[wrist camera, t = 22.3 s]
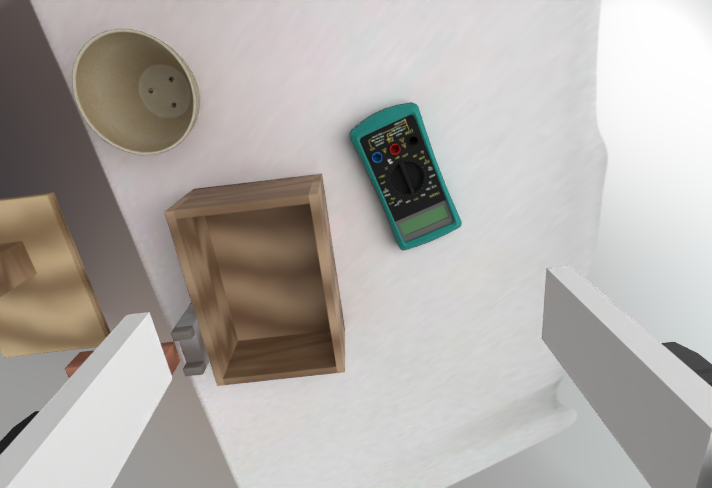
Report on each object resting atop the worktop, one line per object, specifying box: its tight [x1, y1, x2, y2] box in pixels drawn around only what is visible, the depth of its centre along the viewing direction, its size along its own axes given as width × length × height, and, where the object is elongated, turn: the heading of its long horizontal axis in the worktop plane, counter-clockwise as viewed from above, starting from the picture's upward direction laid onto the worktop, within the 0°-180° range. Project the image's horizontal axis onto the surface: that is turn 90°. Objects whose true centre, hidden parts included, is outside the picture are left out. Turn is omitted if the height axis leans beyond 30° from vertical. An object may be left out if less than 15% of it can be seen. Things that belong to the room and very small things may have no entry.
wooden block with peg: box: [0, 193, 111, 358], centre depth 45 cm, size 19×13×9 cm
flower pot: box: [72, 29, 200, 155], centre depth 38 cm, size 10×10×7 cm
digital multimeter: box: [350, 102, 462, 250], centre depth 44 cm, size 7×15×3 cm, turn 24°
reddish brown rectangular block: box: [65, 342, 180, 378], centre depth 41 cm, size 2×10×2 cm, turn 97°
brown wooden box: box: [165, 174, 345, 386], centre depth 44 cm, size 20×16×10 cm
